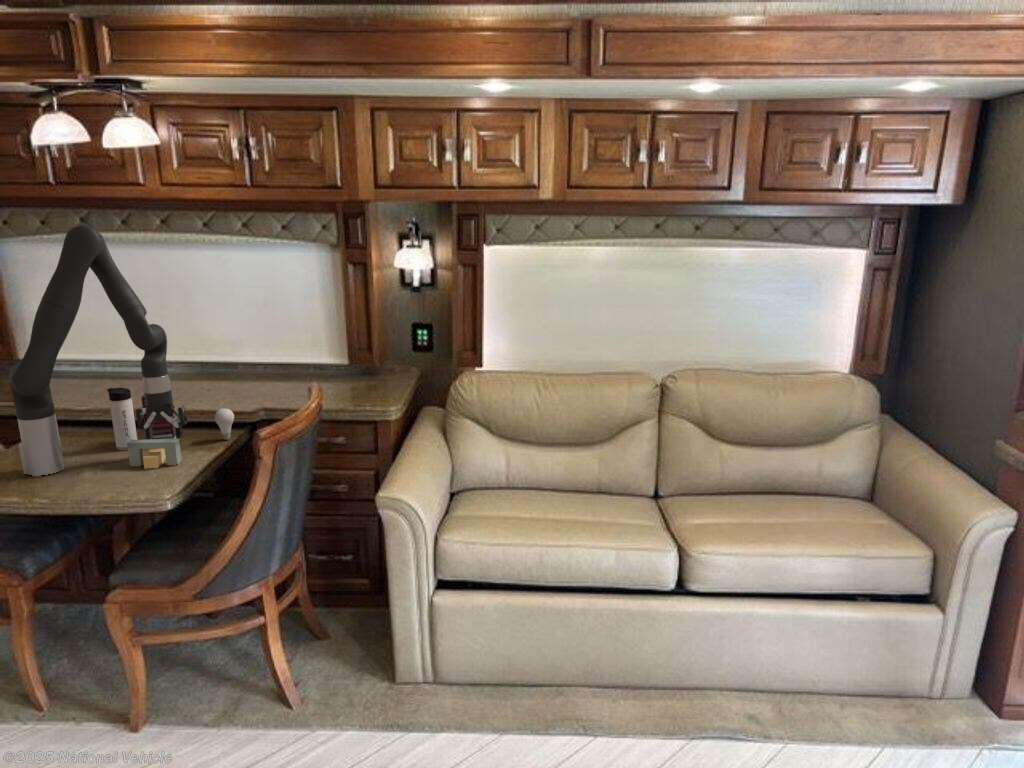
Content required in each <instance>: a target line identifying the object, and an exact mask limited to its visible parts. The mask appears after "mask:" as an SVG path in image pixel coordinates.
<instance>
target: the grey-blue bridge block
mask: <svg viewBox="0 0 1024 768" xmlns="http://www.w3.org/2000/svg"><path fill="white" fill-rule="evenodd" d="M127 447H128V450H127V453H128V459H129V460H128V461H129V466H130V467H142V466H144V462H143V457H144V456H145V455H146V453H145V449H147V450H148V449H149V450H150V449H153V448H165V456H166V459H165V464H166V465H167V464H169V465H170V464H179V463H180V462H181V461H182V453H181V446H180V439H176V438H175V439H147V438H146V439H137V440H131V441H129V442H128V443H127ZM181 463H182V462H181ZM181 463H180V464H181ZM180 464H179V465H180ZM141 465H142V466H141Z"/></svg>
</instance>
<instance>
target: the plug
mask: <svg viewBox="0 0 1024 768" xmlns="http://www.w3.org/2000/svg"><path fill="white" fill-rule="evenodd" d="M165 458H166V456H165V448H153V449H149V450H148V452H146V453H145V456H144V457H143V462H144V464H143V468H144V470H146V469H145V468H155V467H159V466H160V464H161V463H162V462H163V461H164V459H165ZM165 460H166V459H165ZM164 462H165V461H164ZM164 462H163V463H164ZM163 463H162V464H163ZM162 464H161V465H162ZM160 467H161V466H160ZM160 467H159V468H160Z"/></svg>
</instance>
